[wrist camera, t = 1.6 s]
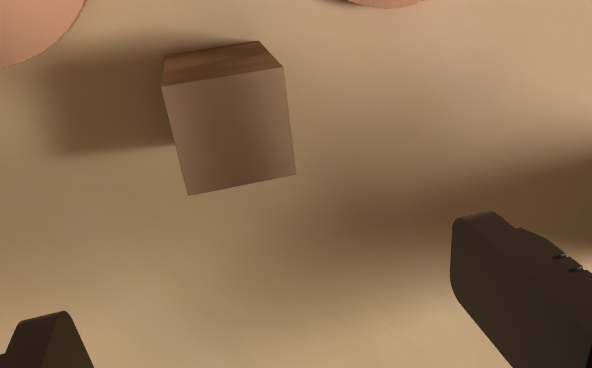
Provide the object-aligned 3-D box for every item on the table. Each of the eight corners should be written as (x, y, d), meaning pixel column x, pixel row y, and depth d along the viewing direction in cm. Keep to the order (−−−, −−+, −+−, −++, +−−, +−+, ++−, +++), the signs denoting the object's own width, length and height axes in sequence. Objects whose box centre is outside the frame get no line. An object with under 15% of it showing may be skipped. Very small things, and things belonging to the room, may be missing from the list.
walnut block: (258, 41, 22) (282, 67, 17) (271, 127, 24) (296, 174, 19) (165, 55, 22) (160, 86, 16) (186, 143, 24) (187, 196, 19)
